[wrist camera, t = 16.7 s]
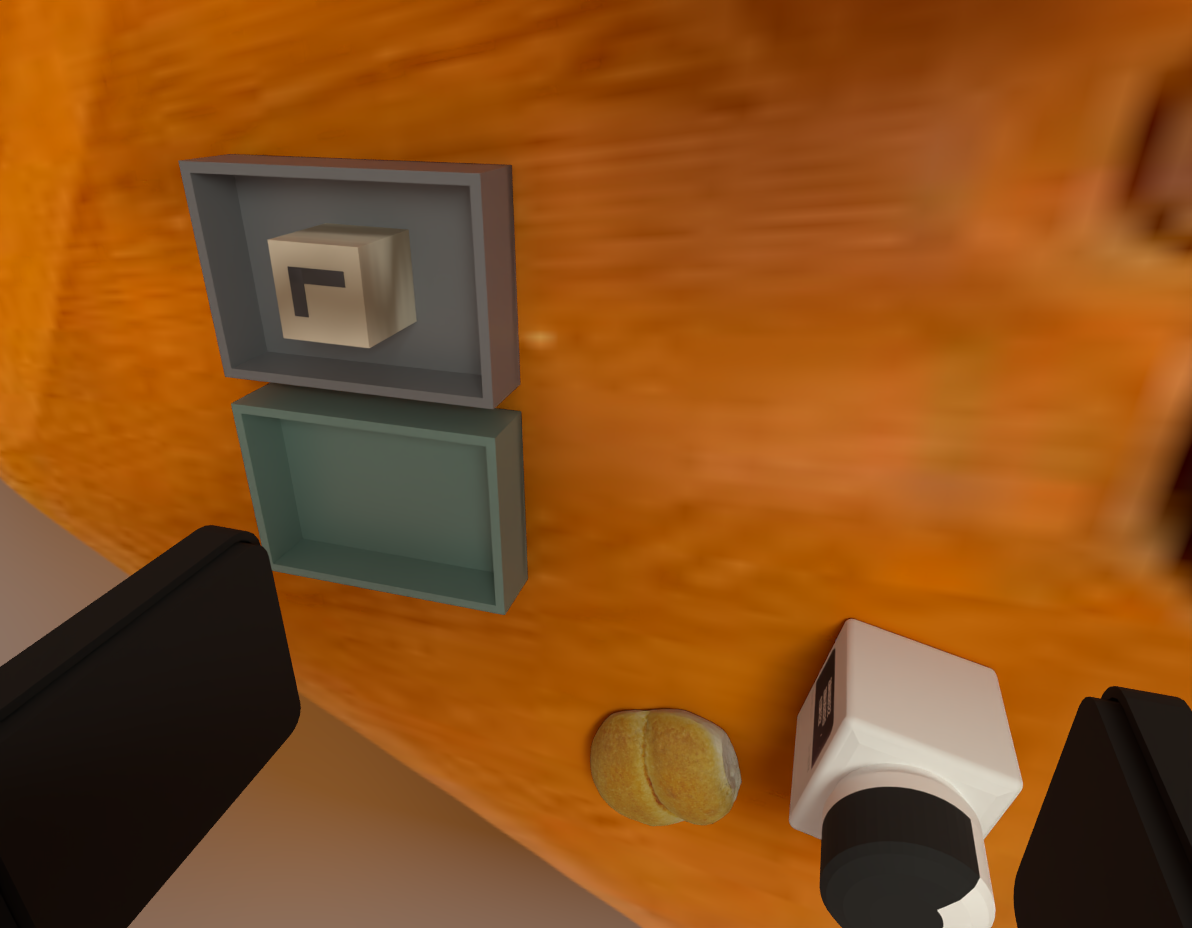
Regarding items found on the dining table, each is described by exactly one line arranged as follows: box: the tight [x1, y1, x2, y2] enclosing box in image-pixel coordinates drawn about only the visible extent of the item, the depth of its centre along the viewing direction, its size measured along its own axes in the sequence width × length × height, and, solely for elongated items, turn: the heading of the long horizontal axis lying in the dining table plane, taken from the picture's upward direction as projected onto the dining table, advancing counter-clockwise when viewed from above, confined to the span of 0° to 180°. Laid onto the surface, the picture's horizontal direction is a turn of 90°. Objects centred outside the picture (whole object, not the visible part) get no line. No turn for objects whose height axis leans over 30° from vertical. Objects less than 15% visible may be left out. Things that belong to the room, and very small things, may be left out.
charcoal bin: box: [179, 154, 520, 409], centre depth 38 cm, size 10×15×4 cm
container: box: [789, 619, 1023, 928], centre depth 36 cm, size 8×8×13 cm
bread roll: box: [590, 709, 741, 826], centre depth 47 cm, size 8×9×4 cm
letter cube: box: [268, 223, 417, 348], centre depth 37 cm, size 4×5×5 cm
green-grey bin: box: [231, 382, 528, 615], centre depth 43 cm, size 10×15×4 cm
